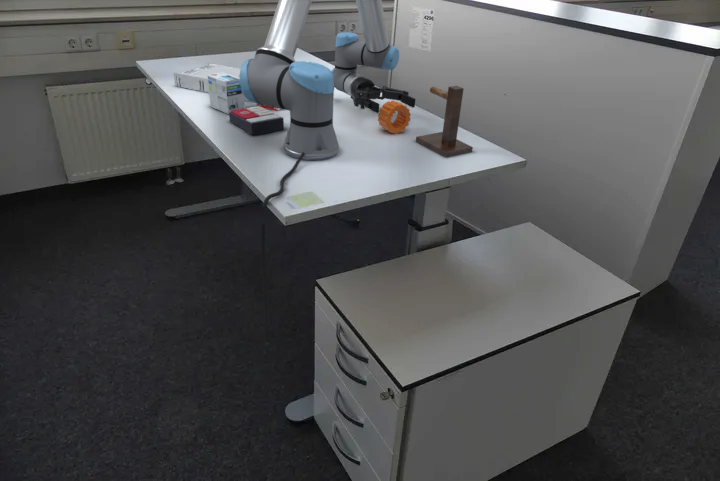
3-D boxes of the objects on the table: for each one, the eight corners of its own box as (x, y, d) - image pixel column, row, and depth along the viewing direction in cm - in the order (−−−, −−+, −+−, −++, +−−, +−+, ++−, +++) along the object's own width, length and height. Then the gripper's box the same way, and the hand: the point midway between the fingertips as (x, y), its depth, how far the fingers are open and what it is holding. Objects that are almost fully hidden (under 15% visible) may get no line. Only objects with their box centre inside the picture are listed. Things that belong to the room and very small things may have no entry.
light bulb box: (245, 110, 185) (243, 78, 179) (228, 115, 180) (225, 81, 175) (226, 103, 191) (223, 71, 185) (209, 107, 186) (206, 74, 181)
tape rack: (472, 151, 163) (481, 90, 154) (445, 157, 158) (454, 94, 149) (438, 134, 174) (445, 76, 165) (412, 139, 169) (418, 79, 160)
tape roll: (388, 138, 172) (384, 111, 166) (379, 133, 175) (375, 106, 170) (412, 127, 175) (409, 100, 170) (403, 122, 178) (399, 96, 173)
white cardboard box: (208, 75, 220) (207, 62, 218) (279, 89, 208) (278, 75, 206) (175, 86, 205) (173, 72, 203) (249, 101, 194) (248, 87, 191)
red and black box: (259, 104, 179) (283, 115, 169) (260, 117, 181) (284, 129, 171) (228, 109, 173) (251, 121, 163) (229, 123, 175) (252, 135, 165)
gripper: (389, 95, 195) (427, 112, 180) (327, 103, 183) (361, 123, 168) (391, 73, 191) (429, 89, 176) (327, 80, 179) (362, 98, 164)
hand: (396, 105), depth 172 cm, fingers open, 13 cm apart
